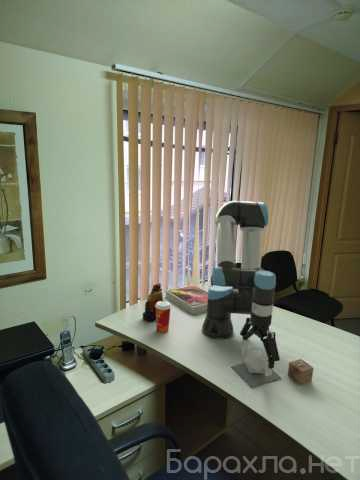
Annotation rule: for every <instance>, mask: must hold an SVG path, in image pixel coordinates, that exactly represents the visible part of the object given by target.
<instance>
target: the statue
mask: <svg viewBox="0 0 360 480" xmlns="http://www.w3.org/2000/svg"><path fill="white" fill-rule="evenodd" d="M146 299H147V300H146V301H145V304H144V306H145V307H144V312H142V319H143V320H144V321H146V322H147V323H152V322H156V307H155V305H156V303H157V302H159V301H164V297H163V292H162V284H161V283H160V282H159V283H154V284H152V289H151V291H150V294H149V295H148V297H147V298H146Z"/></svg>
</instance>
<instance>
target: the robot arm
mask: <svg viewBox="0 0 360 480" xmlns="http://www.w3.org/2000/svg"><path fill="white" fill-rule="evenodd" d="M268 225H269V209H268V206H267V204H266V203H265V202H261V201H245V200H244V201H243V200H241V201H240V200H231V201H228V202H226V203H225V204H224V205H222V206H221V207H220V208H219V210H218V211H217V213H216V215H215V227H216V228H217V253H216V255H217V261H216V262H217V266H214V267H213V270H212V278H211V279H212V280H211V281H212V284H213V285H212V286H210V287H209V288H208V291H207V292H208V296H207V298H208V302H207V311H206V315H205V318H204V321H203V323H202V327H201V331H202V334H204V335H205V336H206V337H209V338H211V339H215V340H226V339H229V338H231V337H232V336H233V335H234V325H233V322H232V317H231V316H232V314H235V315H237V314H239V315H250V317H246V319H245V323H244V325H243V326H242V329H241V330H240V333H239V335H240V336H241V338H242V356H244V357H245V356H247V355H248V353H249V351H250V346H251V337H252V336H254V335H255V336H257V337H258V338H259V339H260V342H262V346H263V347H264V351H265V352H266V353H265V354H266V357H267V358H266V368H265V376H269V375H272V370H273V369H274V367H275V363H276V362H280V354H279V350H278V345H277V339H276V332H275V331H271V330H270V326H271V325H272V318H273V310H274V302H275V301H274V299H275V292H276V291H275V290H276V285H277V282H276V279H277V277H276V274H275V273H274V272H272V271H269V270H264V269H263V268H262V267H260V262H261V261H260V260H261V239H262V237H261V236H262V235H261V234H262V232H263V231H264V230H265V227H267V226H268ZM236 226H239V230H240V231H241V232H242V237H241V238H242V241H241V263H240V264H241V265H240V268H238V267H237V265H236V264H237V263H236V243H235V227H236ZM273 371H274V370H273Z"/></svg>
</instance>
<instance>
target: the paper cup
mask: <svg viewBox="0 0 360 480" xmlns="http://www.w3.org/2000/svg"><path fill="white" fill-rule="evenodd" d="M155 307H156V321H155V322H156V323H155V324H156V332H157V333H159V334H167V333H168V332H169V329H170V328H169V327H170V320H171V319H170V317H171V308H172V305H171V302H170V301H167V300H163V301H159V302H157V303H156V305H155Z"/></svg>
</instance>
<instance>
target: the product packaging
mask: <svg viewBox="0 0 360 480" xmlns="http://www.w3.org/2000/svg"><path fill="white" fill-rule="evenodd" d="M207 296H208V291H207V290H204V289H203V288H201V287H200V286H197V285H195V284H191V285H187V286H186V285H185V286H183V287H182V286H181V287H178V288H173V289H167V290H166V291H165V297H166V299H167V300H169V301H171V302H172V303H173V304H175V305H177V306H179V307H180V308H181V309H183V310H184V311H186V312H188V313H189V314H190V315H192V316H194V315H198V314H202V313H207V302H208V298H207Z"/></svg>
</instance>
